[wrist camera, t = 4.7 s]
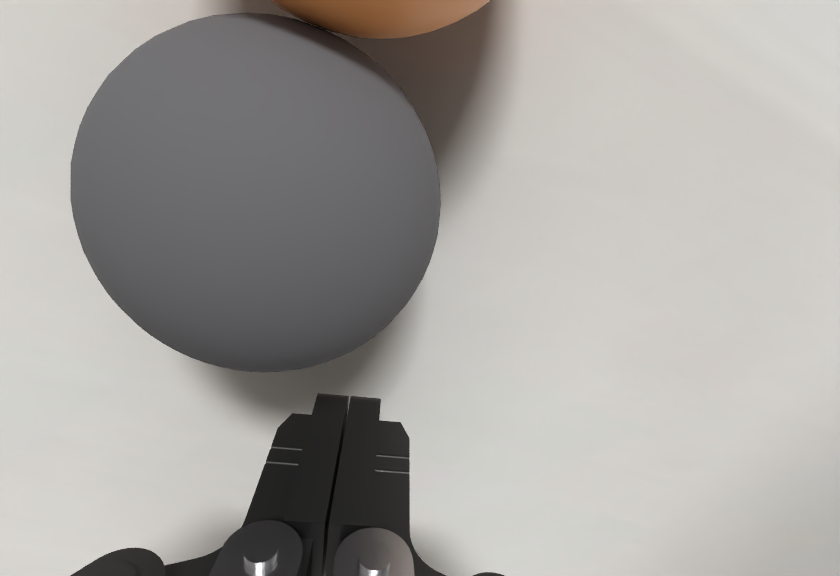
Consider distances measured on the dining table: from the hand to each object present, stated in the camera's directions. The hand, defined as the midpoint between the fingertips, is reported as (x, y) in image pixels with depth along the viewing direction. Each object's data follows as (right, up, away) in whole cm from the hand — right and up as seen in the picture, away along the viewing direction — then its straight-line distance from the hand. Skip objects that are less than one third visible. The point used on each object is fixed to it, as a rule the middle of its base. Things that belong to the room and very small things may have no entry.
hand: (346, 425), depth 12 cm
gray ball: (-1, +5, -4) cm, 6 cm away
